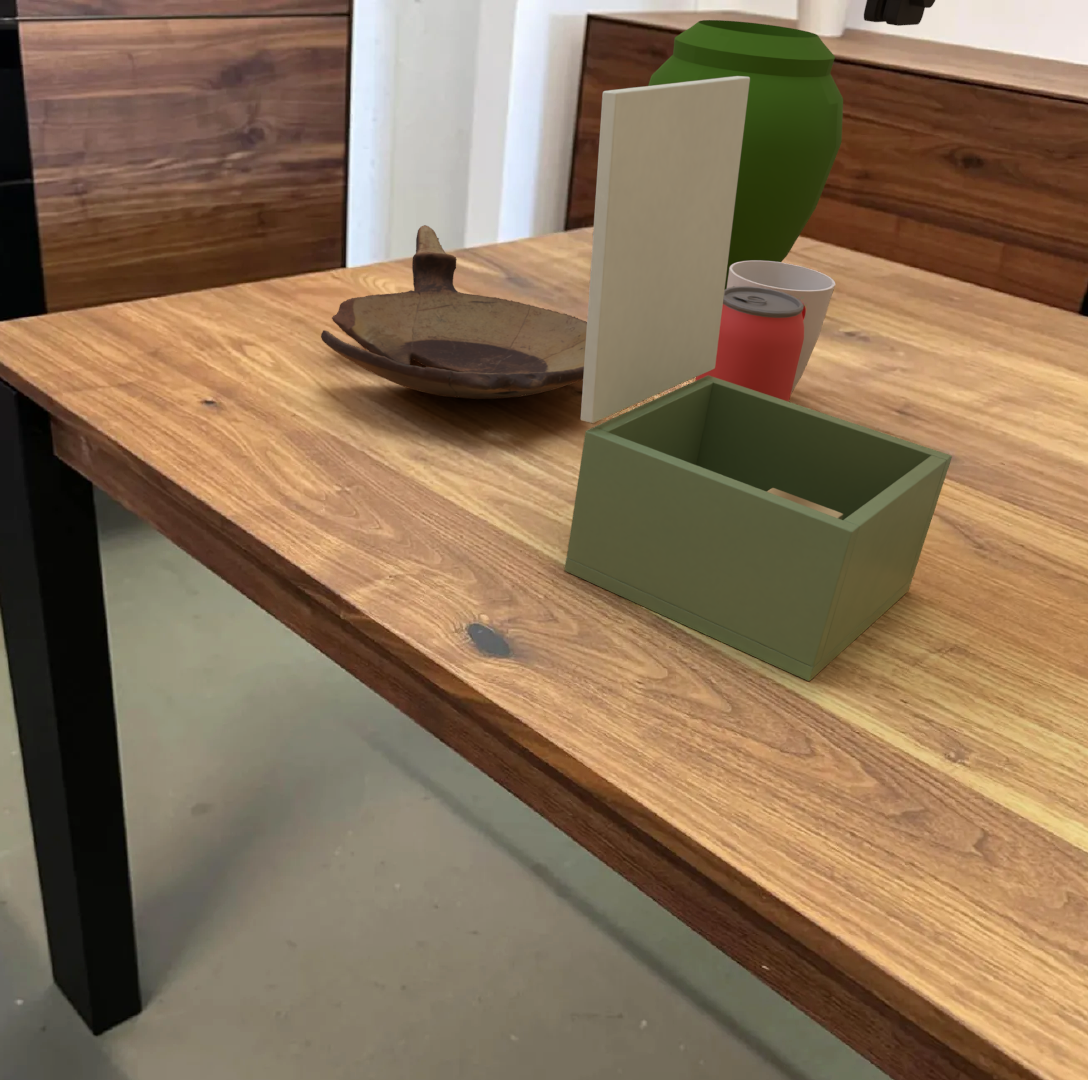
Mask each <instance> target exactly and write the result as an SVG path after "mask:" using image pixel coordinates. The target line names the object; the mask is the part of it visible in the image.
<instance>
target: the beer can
mask: <svg viewBox="0 0 1088 1080" xmlns="http://www.w3.org/2000/svg"><path fill="white" fill-rule="evenodd" d="M803 307H804V305H803V303H802V302H801V301H800V300H799V299H797V298H796V297H794V296H792V295H789V294H787V293H784V292H780V291H776V290H772V289H767V288H761V287H750V286H737V287H730V288H727V289H725V290H724V298H723V306H722V314H721V322H720V331H719V339H718V347H717V356H716V364H715V369H713V370H711V371H708V372H706V373H704V374H702V375H699V376H697V377H695V380H694V381H697V380H699V379H701V378H703V377H705V376H707V375H709V376H712V377H715V378H718V379H721V380H724V381H727V382H730V383H733V384H736V385H739V386H742V387H745V388H748V389H751V390H754V391H757V392H761V393H764V394H767V395H770V396H773V397H776V398H779V399H782V400H785V401H788V402H790V399H791V395H792V393H791V391H792V387H793V382H794V378H795V374H796V370H797V366H798V361H799V357H800V353H801V349H802V345H803V340H804V323H803V316H802V311H803Z"/></svg>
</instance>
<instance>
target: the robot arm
mask: <svg viewBox="0 0 1088 1080" xmlns="http://www.w3.org/2000/svg"><path fill="white" fill-rule="evenodd" d="M935 2H936V0H866V1H865V6H864V11H863V20H864V21H865V22H870V23H886V24H887V25H891V26H897V27H899V26H900V27H901V26H918V25H920V23H921V22H922V19H923V17H924V13H925V10H926V9H930V8H932V7H933V5H934V4H935Z"/></svg>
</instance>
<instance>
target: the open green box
mask: <svg viewBox="0 0 1088 1080" xmlns="http://www.w3.org/2000/svg"><path fill="white" fill-rule="evenodd" d="M952 458H953V455H951V454H949V453H945V452H942V451H939V450H937V449H933V448H930V447H927V446H924V445H921V444H918V443H915V442H913V441H912V442H911V441H908V440H906V439H903V438H900V437H897V436H893V435H891V434H888V433H885V432H881V431H878V430H876V429H872V428H869V427H866V426H864V425H860V424H858V423H855V422H851V421H848V420H845V419H842V418H839V417H836V416H833V415H831V414H827V413H824V412H821V411H817V410H816V409H812V408H808V407H806V406H803V405H801V404H797V403H795V402H790V401H789V402H788V401H785V400H782V399H779V398H776V397H773V396H770V395H767V394H764V393H761V392H757V391H754V390H751V389H748V388H745V387H742V386H739V385H736V384H733V383H730V382H727V381H724V380H721V379H718V378H715V377H712V376H709V375H707V376H705V377H703V378H701V379H699V380H697V381H695V380H693V381H692V382H690V383H688V384H686V385H683V386H681V387H678V388H676V389H674V390H673V391H670V392H668V393H666V394H664V395H661V396H659V397H657V398H655V399H653V400H650V401H648V402H646V403H644V404H641V405H639V406H636V407H635V408H632V409H630V410H628V411H626V412H625V413H624V412H623V413H621V414H620V415H617V416H615V417H612V418H611V419H608V420H606V421H604V422H601V423H599V424H597V425H595V426H594V427H591V428H589V429H587V430H585V433H584V439H583V445H582V452H581V460H580V466H579V471H578V478H577V484H576V485H577V486H576V492H575V498H574V505H573V511H572V519H571V526H570V531H569V532H570V533H569V538H568V545H567V552H566V558H565V563H564V572H566V573H568V574H571V575H573V576H575V577H578V578H579V579H582V580H584V581H587V582H588V583H590V584H593V585H595V586H598V587H599V588H602V589H604V590H606V591H607V592H610V593H612V594H615V595H617V596H619V597H621V598H624V599H625V600H628V601H631V602H633V603H634V604H637V605H638V606H642V607H644V608H645V609H648V610H650V611H653V612H654V613H657V614H659V615H661V616H664V617H666V618H668V619H670V620H673V621H674V622H677V623H679V624H681V625H682V626H683V625H684V626H685V627H688V628H690V629H692V630H694V631H697V632H699V633H701V634H703V635H704V636H705V635H706V636H708V637H710V638H712V639H714V640H717V641H719V642H721V643H723V644H725V645H727V646H730V647H732V648H734V649H737V650H739V651H741V652H743V653H746V654H748V655H750V656H752V657H754V658H757V659H758V660H761V661H763V662H765V663H767V664H769V665H772V666H774V667H776V668H779V669H780V670H783V671H785V672H787V673H789V674H792V675H794V676H795V677H799V678H801V679H803V680H805V681H807V682H810V681H811V680H812V679H814V678H816V676H817V675H818V674H819V673H820V672H821V671H823V670H824V669H825V668H826V667H827V666H828V665H829V664H830V663H831V662H833V660H835V659H836V658H837V657H838V656H839V655H841V653H842V652H843V651H845V649H847V648H848V647H849V646H850V645H851V644H852V643H853V642H854V641H855V640H856V639H857V638H859V637H860V636H861V635H862V634H863V633H864V632H865V631H866V630H868V629H869V628H870V627H871V626H872V625H873V624H874V623H875V622H876V621H878V619H879V618H881V617H882V616H883V615H884V614H885V613H886V612H887V611H888V610H889V609H890V608H892V607H893V606H894V605H895V604H896V603H897V602H898V601H900V599H901V598H903V597H904V596H905V595H906V594H907V593H908V592H909V590H910V588H911V585H912V581H913V579H914V576H915V573H916V569H917V566H918V563H919V560H920V557H921V554H922V550H923V547H924V544H925V541H926V538H927V535H928V533H929V529H930V526H931V523H932V521H933V518H934V517H933V516H934V514H935V511H936V507H937V504H938V501H939V499H940V495H941V492H942V488H943V486H944V483H945V480H946V477H947V474H948V470H949V467H950V465H951V461H952ZM771 488H775V489H778V490H781V491H783V492H786V493H789V494H791V495H794V496H797V497H799V498H802V499H805V500H808V501H810V502H813V503H816V504H818V505H821V506H824V507H826V508H829V509H832V510H834V511H837V512H840V513H843V517H842V520H841V519H838V518H836V517H833V516H830V515H828V514H825V513H822V512H820V511H817V510H814V509H812V508H809V507H806V506H804V505H801V504H798V503H796V502H793V501H790V500H788V499H785V498H782V497H780V496H777V495H774V494H772V493H769V492H767V491H768V490H770V489H771Z"/></svg>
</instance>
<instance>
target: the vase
mask: <svg viewBox="0 0 1088 1080" xmlns="http://www.w3.org/2000/svg"><path fill="white" fill-rule="evenodd" d="M835 58H836V56H835V54H834V53H833V52H832V51H831V50H830V48H828V46H827V45H826V44H825V43H824V42H823V40H822V39H821V37H820V36H819V35H818V34H816V33H814V32H810V31H806V30H802V29H799V28H794V27H793V28H791V27H786V26H780V25H774V24H773V25H772V24H765V23H756V22H748V21H739V20H738V21H737V20H724V19H703V20H699V21H697V22H696V23H695V24H693V25H692V26H691V27H689V28H687V29H686V30H684V31H683V32H681V33H679V34H678V35H677V36H675V37H674V40H673V52H672V55H670V57H669V58H667V60H666V61H664V62H663V64H661V65H660V67H659V68H658V69H656V70H655V71H654V72H653V73H652V74H651V76H650V79H649V82H648V84H647V86H653V85H662V84H671V83H680V82H689V81H698V80H707V79H716V78H725V77H734V76H744V77H750V82H749V91H748V99H747V107H746V115H745V124H744V132H743V140H742V149H741V157H740V165H739V173H738V182H737V190H736V198H735V206H734V215H733V223H732V231H731V240H730V248H729V256H728V264H727V273H726V281H725V289H727V282H728V275H729V268H730V266H731V265H732V264H734V263H737V262H741V261H773V262H781V263H783V261H784V260H785V259H786V257H787V256H788V255H789V254H790V251H791V250H792V248H793V247H794V245H795V243H796V241H797V240H798V238H799V237H800V235H801V234H802V232H803V230H804V228H805V227H806V225H807V224H808V222H809V220H810V219H811V217H812V216H813V214H814V212H815V210H816V209H817V206H818V203H819V201H820V198H821V196H822V193H823V191H824V188H825V185H826V184H827V181H828V178H829V177H830V176H829V175H830V173H831V170H832V169H833V166H834V163H835V161H836V158H837V155H838V153H839V150H840V147H841V145H842V141H843V115H844V112H843V111H844V98H843V95H842V94H841V92H840V89H839V88H838V86H837V84H836V82H835V80H834V78H833V76H832V74H831V72H832V69H833V64H834V61H835ZM725 289H724V290H725Z"/></svg>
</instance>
